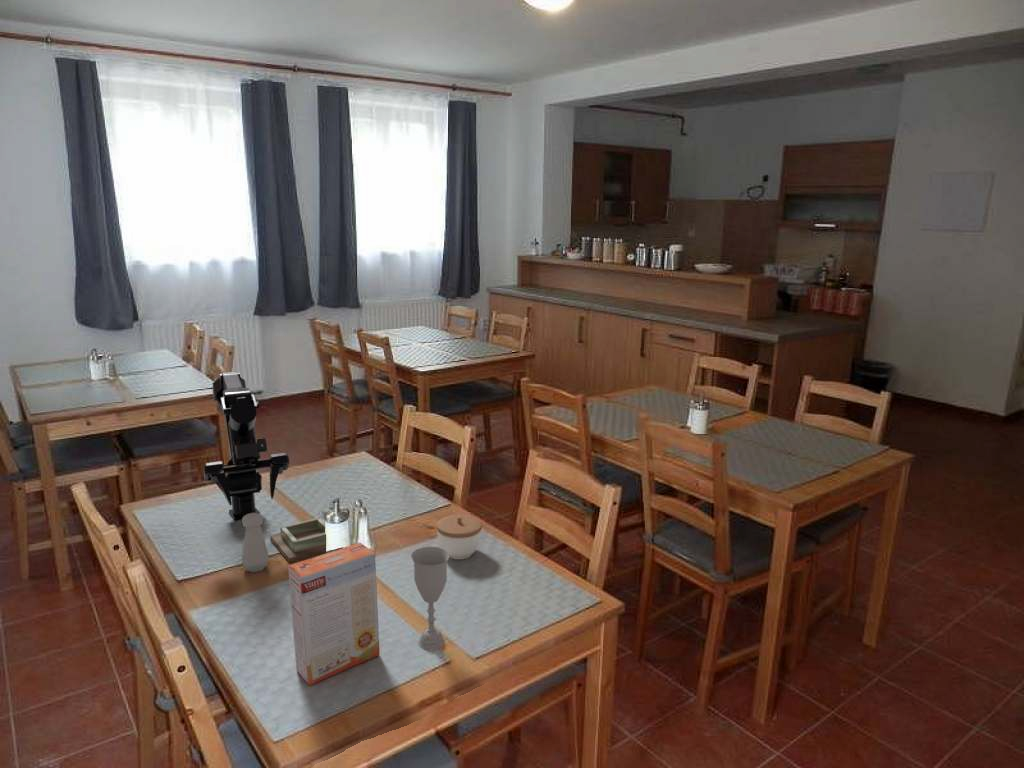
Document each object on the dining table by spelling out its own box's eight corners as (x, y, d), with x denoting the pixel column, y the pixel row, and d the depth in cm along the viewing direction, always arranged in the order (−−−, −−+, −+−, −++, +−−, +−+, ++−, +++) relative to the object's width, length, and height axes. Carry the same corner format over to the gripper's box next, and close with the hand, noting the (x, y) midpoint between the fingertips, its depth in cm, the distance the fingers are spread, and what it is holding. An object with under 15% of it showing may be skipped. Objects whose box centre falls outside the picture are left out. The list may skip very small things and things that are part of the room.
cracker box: (365, 640, 132) (361, 540, 127) (380, 656, 128) (377, 552, 123) (294, 669, 123) (286, 563, 118) (308, 687, 119) (301, 577, 114)
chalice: (405, 640, 132) (403, 554, 128) (433, 626, 137) (432, 543, 133) (429, 658, 127) (427, 569, 123) (457, 642, 132) (457, 556, 128)
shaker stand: (270, 539, 171) (269, 526, 171) (325, 525, 179) (324, 512, 179) (289, 562, 160) (288, 548, 160) (346, 546, 169) (346, 532, 168)
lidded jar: (453, 569, 159) (453, 531, 157) (428, 551, 167) (427, 515, 165) (490, 555, 166) (491, 519, 164) (464, 538, 174) (464, 504, 172)
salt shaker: (241, 575, 155) (236, 521, 151) (243, 563, 160) (239, 511, 157) (268, 572, 156) (264, 519, 153) (270, 560, 162) (266, 508, 158)
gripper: (200, 432, 157) (208, 498, 151) (286, 422, 165) (296, 485, 159) (201, 448, 166) (208, 511, 161) (282, 438, 174) (291, 498, 169)
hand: (251, 501), depth 162 cm, fingers open, 9 cm apart
